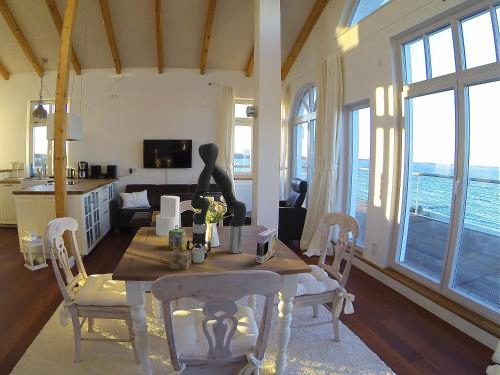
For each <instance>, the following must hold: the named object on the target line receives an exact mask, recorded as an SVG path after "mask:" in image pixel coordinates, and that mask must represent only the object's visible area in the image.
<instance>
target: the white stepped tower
mask: <svg viewBox="0 0 500 375" xmlns="http://www.w3.org/2000/svg"><path fill="white" fill-rule="evenodd" d="M176 225H178V229H180V196H178V195H177V196H176V195H161V196H160V213H158V214H156V215H155V234H156V235H157V236H160V237H169V231H170V230H172V229H175V226H176ZM176 229H177V227H176Z"/></svg>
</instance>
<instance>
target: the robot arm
mask: <svg viewBox="0 0 500 375" xmlns="http://www.w3.org/2000/svg"><path fill="white" fill-rule="evenodd" d="M197 150H198V156H199V157H200V159H201V160H202V162H203V163H204V166H203V169H202V171H201V172H200V174H199V176H198V179H197V185H196V189H195V192H194V194H193V196H192V198H191V200H190V206H191V208H192V209H195V210H200V212H195V213H193V214H194V215H193V225H192V239H191V240H190V239H188V240H186V246H185V247H186V248H185V250H192V251H194V250H195V248H199V249H203V250H204V260H206V259H208V255H209V253H211V251H212V241H211V240H209V241H207V240H206V237H207V236H206V234H207V224H206V222H207V219H206V218H207V214H208V210H209V208H210V204H211V202H210V200H209V198H208V197H204V196H203V197H202V195H206V194H209V191H210V184H211V179H212V178H213V181H214V183H215V185H216V187H217V189H218V190H219V192H220V194H221V197H222V198H223V200H224V203H225V205H226V207H227V210H228V211H229V213H231V214H232V215H233V217H232V218H233V219H231V220H230V221H229V230H228V252H229V253H232V254H240V253H239V252H242V253H243V252H244V229H245V228H244V226H245V222H246V216H247V206H246V204H245V203H244V202H243V201H240V200H238V199H237V198H236V197H235V195H234V192H233V183H232V180H231V178H230V176H229V175H228V173H227V172H226V170H225V169H224V168H222V167H221V166H220V165H219V164H218V163H217V159H218V156H219V151H220V150H219V146H218V145H217V144H216V143H215V142H209V143H203V144H201V145H199V147H198V149H197ZM190 245H192V247H191V248H190ZM206 245H207V246H206Z"/></svg>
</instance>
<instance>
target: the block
mask: <svg viewBox="0 0 500 375" xmlns="http://www.w3.org/2000/svg"><path fill="white" fill-rule="evenodd" d="M192 258H193V263H196V264H197V263H198V264H202V263H203V262H204V260H205V251H204V250H203V249H202V248H201V249H199V248H195V247H194V249H193V255H192Z"/></svg>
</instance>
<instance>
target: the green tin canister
mask: <svg viewBox="0 0 500 375" xmlns="http://www.w3.org/2000/svg"><path fill="white" fill-rule="evenodd" d="M176 227H177V229H176ZM186 236H187V230H186V229H184V228H183V229H181V228H179V229H178V225H176V226H175V229H172V230H170V231H169V236H168V249H170V250H172V249H173V250H174V249H183V248H185V247H186V246H187V240H186V238H187V237H186Z"/></svg>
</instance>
